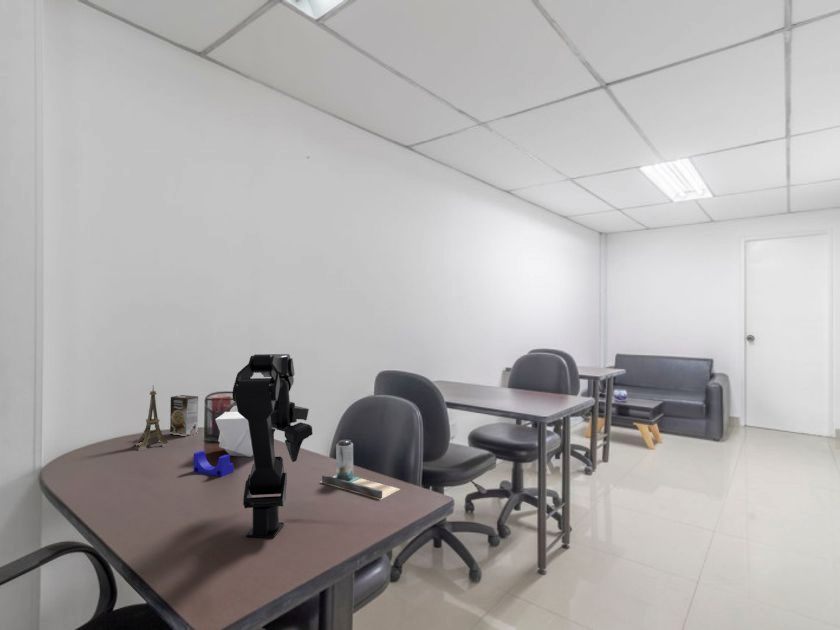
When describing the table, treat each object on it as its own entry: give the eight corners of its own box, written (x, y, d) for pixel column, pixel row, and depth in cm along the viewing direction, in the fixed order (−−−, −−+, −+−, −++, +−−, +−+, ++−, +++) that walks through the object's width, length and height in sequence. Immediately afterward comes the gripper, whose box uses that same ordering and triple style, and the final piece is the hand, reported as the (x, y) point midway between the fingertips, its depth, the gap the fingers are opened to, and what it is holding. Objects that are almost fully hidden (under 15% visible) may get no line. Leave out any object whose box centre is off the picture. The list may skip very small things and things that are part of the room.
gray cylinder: (351, 481, 130) (351, 443, 130) (334, 481, 130) (334, 443, 130) (354, 475, 135) (354, 439, 135) (338, 475, 135) (338, 439, 135)
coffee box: (169, 435, 186) (169, 396, 187) (181, 431, 193) (182, 394, 193) (186, 437, 184) (186, 398, 184) (198, 433, 190) (198, 395, 190)
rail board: (400, 491, 125) (400, 482, 125) (380, 502, 117) (380, 492, 117) (341, 475, 138) (341, 467, 138) (319, 484, 130) (319, 475, 130)
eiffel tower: (138, 451, 164) (139, 383, 164) (134, 445, 172) (134, 380, 172) (170, 446, 171) (171, 380, 171) (164, 440, 179) (165, 378, 179)
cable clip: (233, 472, 141) (233, 453, 141) (222, 477, 137) (222, 457, 137) (204, 468, 145) (205, 449, 146) (193, 472, 141) (193, 453, 141)
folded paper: (245, 400, 174) (203, 410, 160) (286, 406, 161) (244, 419, 147) (248, 442, 175) (206, 457, 161) (288, 452, 162) (247, 469, 148)
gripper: (326, 397, 118) (329, 453, 120) (279, 388, 128) (283, 440, 130) (292, 410, 109) (297, 470, 111) (246, 399, 119) (251, 454, 121)
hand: (282, 457), depth 118 cm, fingers open, 9 cm apart
